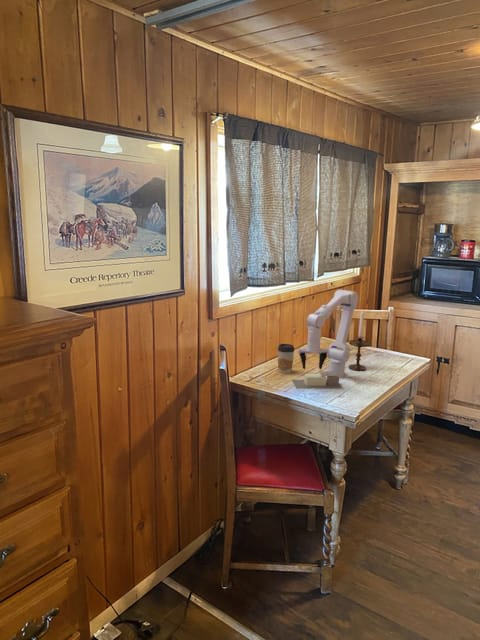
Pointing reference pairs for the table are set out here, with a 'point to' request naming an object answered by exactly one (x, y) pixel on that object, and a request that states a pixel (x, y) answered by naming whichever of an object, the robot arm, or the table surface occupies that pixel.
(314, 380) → the cream rectangular block
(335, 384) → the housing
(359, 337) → the candlestick
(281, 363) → the coffee cup
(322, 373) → the bar
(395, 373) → the table surface
